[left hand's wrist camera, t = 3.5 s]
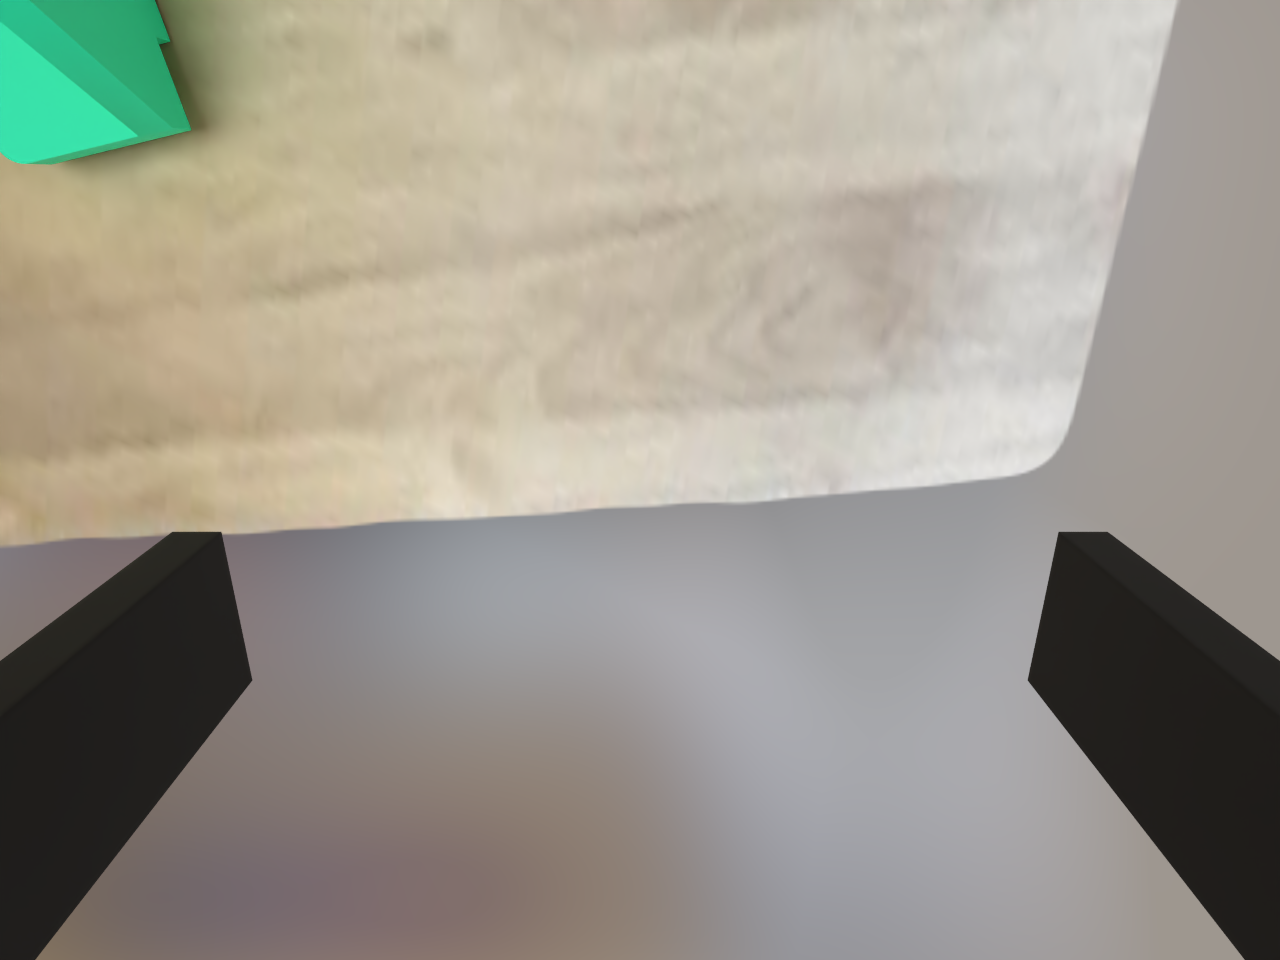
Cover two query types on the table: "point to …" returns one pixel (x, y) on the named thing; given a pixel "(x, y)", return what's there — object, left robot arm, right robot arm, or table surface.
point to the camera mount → (83, 78)
